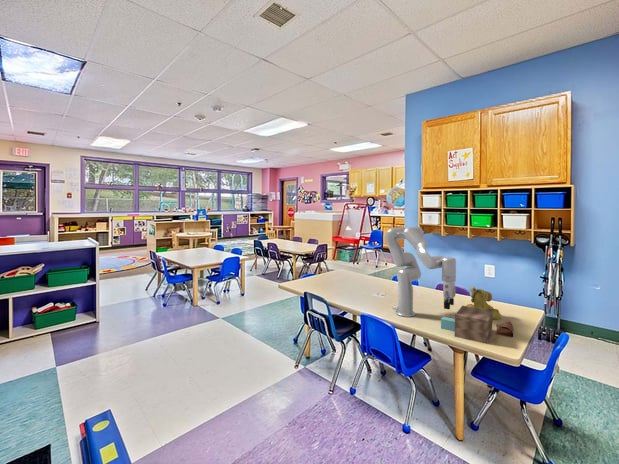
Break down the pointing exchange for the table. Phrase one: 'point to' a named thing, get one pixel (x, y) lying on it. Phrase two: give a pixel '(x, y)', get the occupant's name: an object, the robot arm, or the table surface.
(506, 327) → the sunglasses case
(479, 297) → the giraffe plush
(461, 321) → the brown wooden block
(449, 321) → the teal block
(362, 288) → the table surface
